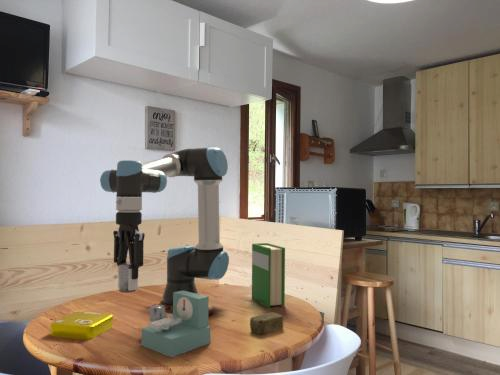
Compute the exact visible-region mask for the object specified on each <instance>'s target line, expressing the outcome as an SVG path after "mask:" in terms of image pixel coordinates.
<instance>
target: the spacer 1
mask: <svg viewBox="0 0 500 375" xmlns="http://www.w3.org/2000/svg"><path fill="white" fill-rule="evenodd" d="M128 267H130V262H127V263H122V264H119V288H118V292H119V293H123V294H125V293H127V294H128V293H135V292H136V291H137V289H136V290H131V291H129V290H128V278H129V268H128Z"/></svg>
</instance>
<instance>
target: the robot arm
mask: <svg viewBox="0 0 500 375" xmlns="http://www.w3.org/2000/svg"><path fill="white" fill-rule="evenodd" d="M116 164H117V166H116V169H109V170H105V171H104V172H102V174H101V175H100V179H99V183H100V187H101V188H102V190H103V191H105V192H107V193H112V194H113V193H116V194H115V195H116V201H115V204H116V206H115V210H116V211H117V212H116V213H115V224H116V225H118V226H119V227H118V230H113V232H112V233H113V234H112V235H113V238H114V239H113V263H115V264H116V266H117V275H118V276H117V288H118V289H119V264H122V263H128V262H127V259H129V263H130V267H128V268H129V278H128V290H129V291H131V290H136V291H137V290H138V289H139V288H138V286H139V283H138V282H139V280H138V279H139V268H141V267H144V240H145V236H146V234H145V233H144V232H140V229H139V225H141V224H142V220H143V219H142V218H143V217H142V216H143V215H142V212H141V211H142V210H143V193H152V194H153V193H161V192H163V191H164V190H165V189H166V186H167V182H168V181H167V180H168V178H167V177H169V178H176V177H193V181H194V183H195V184H197V207H198V208H197V216H198V217H197V218H198V219H197V220H198V223H197V224H198V227H197V228H198V229H197V230H198V243H197V244H196V246H195V245H185V246H184V245H183V246H176V247H172V248H169V249H168V250H167V253H166V254H167V255H166V256H167V257H166V267H167V268H166V285H165V289H164V292H163V294H162V303H163V304H164V305H165V304H166V305H169V306H173V293H174V292H178V291H187V292H191V293H196V294H199V293H198V290H197V286H196V284H195V279H203V280H204V279H205V280H210V281H212V280H215V281H216V280H221V279H222V278H223V277H224V276H225V275H226V273H227V271H228V267H229V263H230V256H229V254H228V252H226V251H224V245H223V244H222V243H221V242H220V188H219V186H220V184H221V182H222V181H223V177H224V176H226V175H227V173H228V168H229V167H228V165H229V164H228V158H227V156H226V153H225V152H224V151H223V150H222V149H221V148H219V147H211V146H210V147H201V148H184V149H181V150H178V151H174V152H171V153H167V154H165V155H163V156H162V157H161V158H158V159H153V160H150V161H146V162H141V161H139V160H125V159H124V160H119V161H118V162H117V163H116ZM128 257H129V258H128Z"/></svg>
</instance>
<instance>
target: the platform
mask: <svg viewBox="0 0 500 375" xmlns="http://www.w3.org/2000/svg"><path fill="white" fill-rule="evenodd" d="M179 323H182V318H179V317H175V316H173V315H172V316H169V317H165V318H164V319H161V320H157V321H153V322H150V321H149V323H148V327H151V328H154V329H157V330H158V329H162V332H169V331H170V326H172V325H175V324H179Z"/></svg>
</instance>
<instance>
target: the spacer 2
mask: <svg viewBox="0 0 500 375" xmlns="http://www.w3.org/2000/svg"><path fill="white" fill-rule="evenodd" d="M164 318H166V306H165V305H162V304H157V305H156V304H155V305H151V306H150V307H149V322H153V321H157V320H161V319H164Z"/></svg>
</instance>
